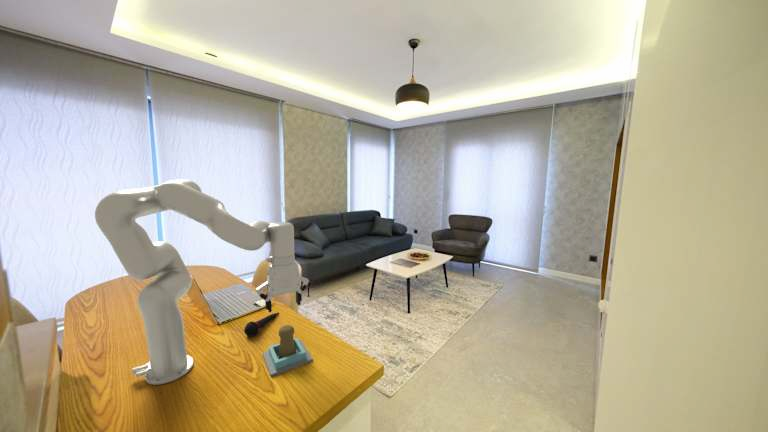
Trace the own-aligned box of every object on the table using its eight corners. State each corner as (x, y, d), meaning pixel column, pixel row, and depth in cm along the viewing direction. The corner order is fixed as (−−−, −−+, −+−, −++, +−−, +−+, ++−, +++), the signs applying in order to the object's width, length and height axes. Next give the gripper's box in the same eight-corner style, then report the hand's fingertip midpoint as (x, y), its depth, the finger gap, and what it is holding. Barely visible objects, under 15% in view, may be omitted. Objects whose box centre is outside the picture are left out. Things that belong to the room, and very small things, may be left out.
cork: (274, 358, 98) (273, 329, 96) (286, 348, 103) (285, 321, 101) (288, 363, 95) (287, 333, 93) (300, 352, 101) (299, 324, 99)
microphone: (275, 320, 129) (243, 340, 110) (272, 307, 129) (239, 325, 110) (285, 318, 128) (254, 338, 109) (282, 305, 128) (250, 323, 109)
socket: (270, 376, 90) (270, 367, 89) (262, 354, 101) (262, 346, 100) (312, 360, 98) (312, 352, 97) (301, 341, 108) (300, 334, 108)
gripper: (256, 267, 85) (259, 318, 88) (311, 258, 95) (312, 305, 98) (252, 260, 91) (255, 308, 94) (304, 252, 101) (305, 297, 104)
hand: (284, 306), depth 96 cm, fingers open, 9 cm apart
